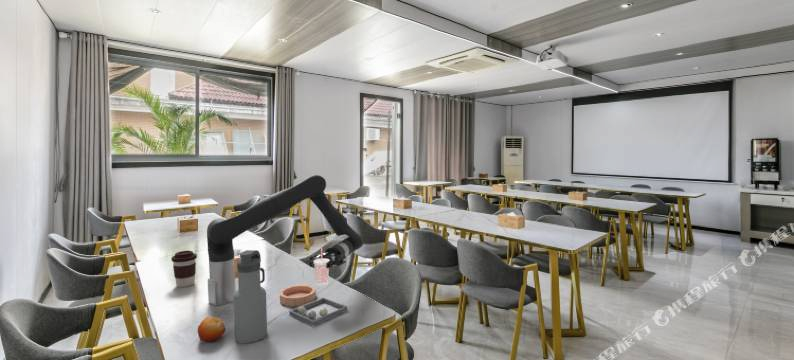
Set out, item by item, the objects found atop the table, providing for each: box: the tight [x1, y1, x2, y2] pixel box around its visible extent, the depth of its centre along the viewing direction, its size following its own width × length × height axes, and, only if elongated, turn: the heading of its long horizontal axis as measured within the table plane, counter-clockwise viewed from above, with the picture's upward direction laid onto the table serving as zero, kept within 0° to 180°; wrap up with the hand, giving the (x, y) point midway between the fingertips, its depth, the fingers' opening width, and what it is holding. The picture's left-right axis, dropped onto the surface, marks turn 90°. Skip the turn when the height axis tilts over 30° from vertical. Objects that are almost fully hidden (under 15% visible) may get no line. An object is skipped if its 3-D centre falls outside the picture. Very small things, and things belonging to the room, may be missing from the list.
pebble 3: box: [318, 307, 329, 317], centre depth 132 cm, size 3×3×3 cm
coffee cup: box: [170, 250, 198, 288], centre depth 165 cm, size 10×10×15 cm
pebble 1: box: [297, 305, 307, 316], centre depth 134 cm, size 3×3×3 cm
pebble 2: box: [307, 310, 317, 321], centre depth 130 cm, size 3×3×3 cm
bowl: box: [279, 284, 317, 307], centre depth 149 cm, size 14×14×3 cm
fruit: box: [197, 316, 226, 344], centre depth 116 cm, size 8×8×8 cm
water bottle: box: [233, 249, 268, 344], centre depth 117 cm, size 10×10×28 cm
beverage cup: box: [314, 247, 330, 287], centre depth 137 cm, size 6×6×14 cm
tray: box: [288, 297, 348, 327], centre depth 136 cm, size 16×14×2 cm
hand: (319, 264), depth 135 cm, fingers closed on beverage cup, 6 cm apart
